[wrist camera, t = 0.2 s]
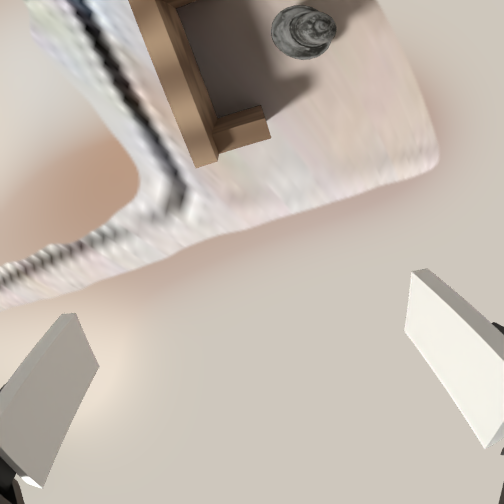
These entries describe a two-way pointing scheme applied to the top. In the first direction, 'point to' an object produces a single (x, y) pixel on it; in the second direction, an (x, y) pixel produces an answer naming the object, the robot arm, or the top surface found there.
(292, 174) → the top surface
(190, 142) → the brown wooden u-shaped block
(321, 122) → the top surface
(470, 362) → the robot arm
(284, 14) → the grey chess piece
